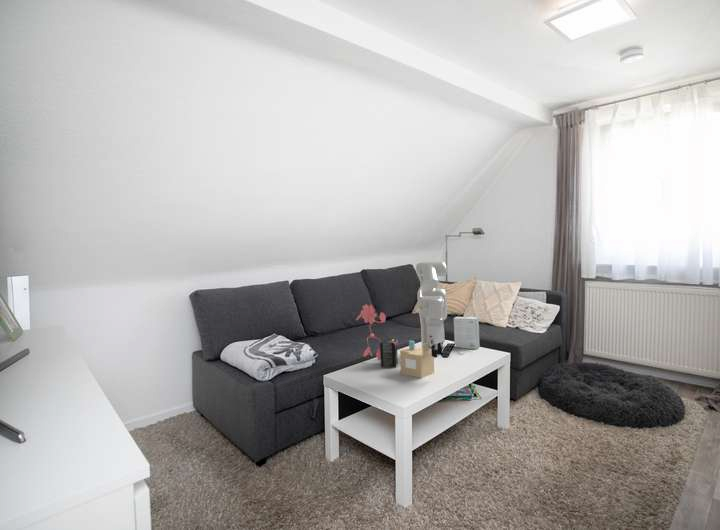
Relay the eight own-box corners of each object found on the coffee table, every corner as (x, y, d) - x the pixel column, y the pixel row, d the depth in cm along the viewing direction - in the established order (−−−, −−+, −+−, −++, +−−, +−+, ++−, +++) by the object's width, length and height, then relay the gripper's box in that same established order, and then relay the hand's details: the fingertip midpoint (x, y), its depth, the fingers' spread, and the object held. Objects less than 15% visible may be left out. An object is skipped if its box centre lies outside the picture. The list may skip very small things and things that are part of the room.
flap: (434, 340, 226) (442, 341, 222) (434, 351, 226) (442, 352, 222) (422, 344, 218) (430, 346, 214) (422, 355, 218) (431, 357, 214)
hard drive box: (479, 346, 278) (479, 317, 277) (477, 349, 271) (476, 319, 270) (457, 344, 285) (456, 316, 284) (453, 347, 279) (453, 318, 278)
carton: (412, 367, 238) (411, 337, 237) (434, 372, 228) (433, 341, 227) (399, 372, 229) (398, 342, 228) (421, 378, 219) (420, 346, 218)
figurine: (363, 353, 272) (360, 301, 270) (393, 360, 254) (390, 304, 252) (346, 359, 261) (343, 304, 259) (377, 366, 243) (373, 308, 241)
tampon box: (396, 367, 239) (395, 343, 238) (380, 367, 241) (379, 342, 240) (398, 362, 250) (397, 338, 249) (383, 362, 251) (382, 338, 251)
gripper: (438, 318, 226) (439, 351, 227) (420, 323, 214) (421, 358, 215) (450, 319, 221) (451, 353, 222) (432, 325, 209) (434, 360, 210)
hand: (437, 355), depth 219 cm, fingers open, 3 cm apart
